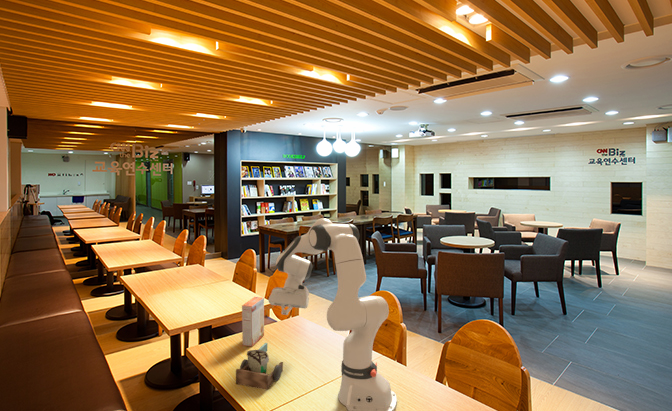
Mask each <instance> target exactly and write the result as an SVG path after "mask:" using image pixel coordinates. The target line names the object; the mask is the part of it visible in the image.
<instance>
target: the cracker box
mask: <svg viewBox="0 0 672 411" xmlns="http://www.w3.org/2000/svg"><path fill="white" fill-rule="evenodd" d="M264 299H265V297H260V296H254V297H252V298H251V299H250V300H248V301H247V302H245V303H244V304H243V305H241V322H242V323H241V324H242V325H241V326H242V328H241V330H242V335H241V336H242V338H241V339H242V346H246V347H254V346H255V345H256V344H257V343H258V342H259V341H260V340H261V339H262V338H263V337H264V336H265V300H264Z"/></svg>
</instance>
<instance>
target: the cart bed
mask: <svg viewBox="0 0 672 411" xmlns="http://www.w3.org/2000/svg"><path fill="white" fill-rule="evenodd" d="M283 372H284V362H283V361H280V362H279V363H278V364H276V365H275V366H274V368H273V370H272V371H271V372H270V373H269V374H268V373H266V374H264V373H259V372H253V371H248V359H247V358H245V359H243V360H242V361H241V363H240V366H239V368H236V369H235V384H236V385H239V386H244V387H249V388H254V389H260V390H264V391H268V390H269V388H270V387H271V386H272V384H274V383H275V381H276V382H278V381H279V380H280V378H281V375H282V373H283Z"/></svg>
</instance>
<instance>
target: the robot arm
mask: <svg viewBox="0 0 672 411" xmlns="http://www.w3.org/2000/svg"><path fill="white" fill-rule="evenodd" d="M359 240H360V231H359V229H358V227H357V226H356V225H355V224H352V223H335V222H334V223H333V222H332V220H330V219H328V218H324V217H322V218H318V219H317V220H316V221H315V222H314V223H313V224H312V225H311V227H310V228H309V229H308V232H307V233H304V234H303V235H297V236H296V237H295V238H294V239H292V241H291V243H290V244H289V245H288V246H287V247H286V248H285V249H284V250H283V251H282V252H281V253H280V254H279V255H278V257H277V258H276V261H275V267H276V269H277V270H278V271H279V272H281V273H286V274H287V278H286V279H285V281H284V282H285V283H284V286H283V287H279V286H277V287H276V286H275V287H274V288H273V289H271V293H270V295H269V297H268V300H267V301H268V303H269V304H270V305H271V306H276V307H277V306H278V307H281V315H285V316H288V315H289V312H291V310H293V308H297V309H304V310H305V309H307V308H308V306H309V301H310V297H309V295H310V290H309V289H308V288H307V286H305V285H303V282H304V281H306V280H308V279H309V278H310V277H311V275H312V270H313V267H314V265H313V264H312V261H310V260H308V259H305V258H303V257H300V256H298V255H296V254H297V253H304V254H309V255H319V254H321V253H323V252H327V251H328V250H329V251H332V252H333V256H334V263H335V264H334V265H335V268H336V269H335V270H336V276H337V291H336V295H335V297H334V299H333V301H332V303H331V304H330V305H329V307H328V308H327V311H326V321H327V323H328V326H329V327H330V328H331V330H333V331H336V332H347V331H351V332H350V333H349V334H348V335H347V336H345V338H344V340H343V346H342V360H341V365H340V367H341V369H340V370H341V383H340V388H339V391H338V393H337V394H338V395H337V399H338V400H339V402H340V403H341V404H342V405H343V406H345V407H346V410H347V411H395V410H396V408H397V406H398V404H397V403H398V397H397V394H396V392H395V391H393V390H392V387H391V385H390V382H389V380H388V379H386V378H385V377H384V376H383V375H382V374H380V373H379V372H378V367H377V366H378V363H377V362H375V363H374V361H372V360H373V348H374V346H373V345H374V341H375V338H376V335H377V333H378V330H379V329H380V327H381V326H382V324H383V323H384V322H385V321H386V320H387V319H388V318H389V313H390V311H389V308H390V307H389V304H388V302H387V300H386V299H385V298H384V297H382V296H379V295H378V296H377V295H365V296H361V297H359V291H360V288H361V287H363V285H364V284H365V283H366V281H367V272H366V269H365V268H366V267H365V263H364V257H363V254H362V250H361V246H360V244H359ZM285 308H287V309H285Z"/></svg>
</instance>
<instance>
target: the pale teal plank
mask: <svg viewBox="0 0 672 411" xmlns="http://www.w3.org/2000/svg"><path fill="white" fill-rule="evenodd" d="M257 350H262V351H265V352H266V353H268V342H265V343H264V344H262V346H260V347H259V348H258V349H257Z"/></svg>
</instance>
